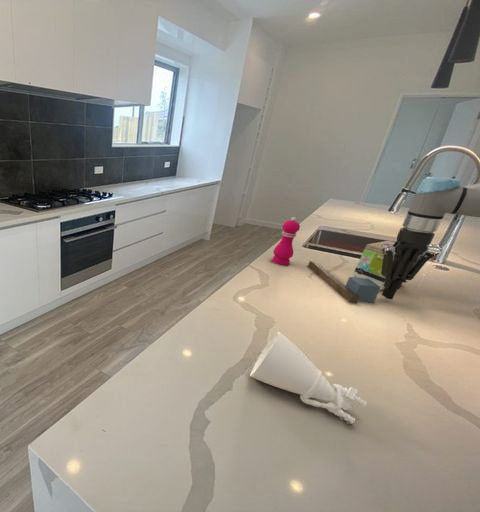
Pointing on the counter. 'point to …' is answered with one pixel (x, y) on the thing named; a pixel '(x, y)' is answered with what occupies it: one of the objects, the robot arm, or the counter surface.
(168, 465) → the counter surface
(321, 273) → the brown wooden stick
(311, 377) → the rocket engine
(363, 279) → the blue block
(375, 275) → the tea box
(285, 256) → the pepper mill
